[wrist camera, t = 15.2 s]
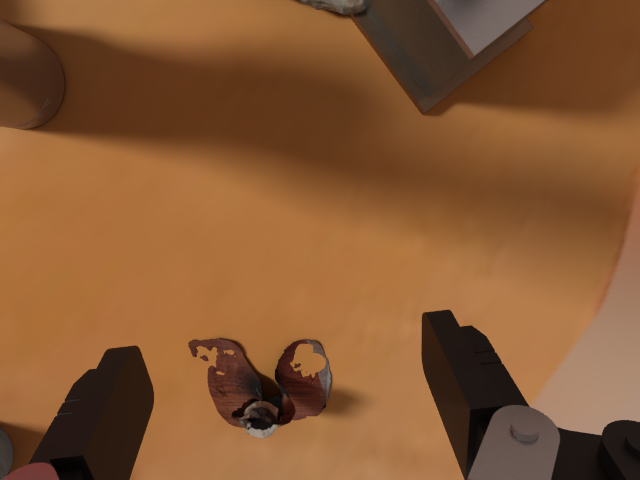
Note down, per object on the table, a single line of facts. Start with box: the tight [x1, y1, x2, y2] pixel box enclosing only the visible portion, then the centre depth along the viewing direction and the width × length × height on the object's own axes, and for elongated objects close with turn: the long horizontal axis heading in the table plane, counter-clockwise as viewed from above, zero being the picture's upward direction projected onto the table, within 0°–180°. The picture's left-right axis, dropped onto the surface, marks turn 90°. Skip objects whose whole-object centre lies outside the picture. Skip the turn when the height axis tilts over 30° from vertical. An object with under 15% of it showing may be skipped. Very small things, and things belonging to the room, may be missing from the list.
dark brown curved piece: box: [188, 339, 331, 438], centre depth 47 cm, size 11×12×15 cm
